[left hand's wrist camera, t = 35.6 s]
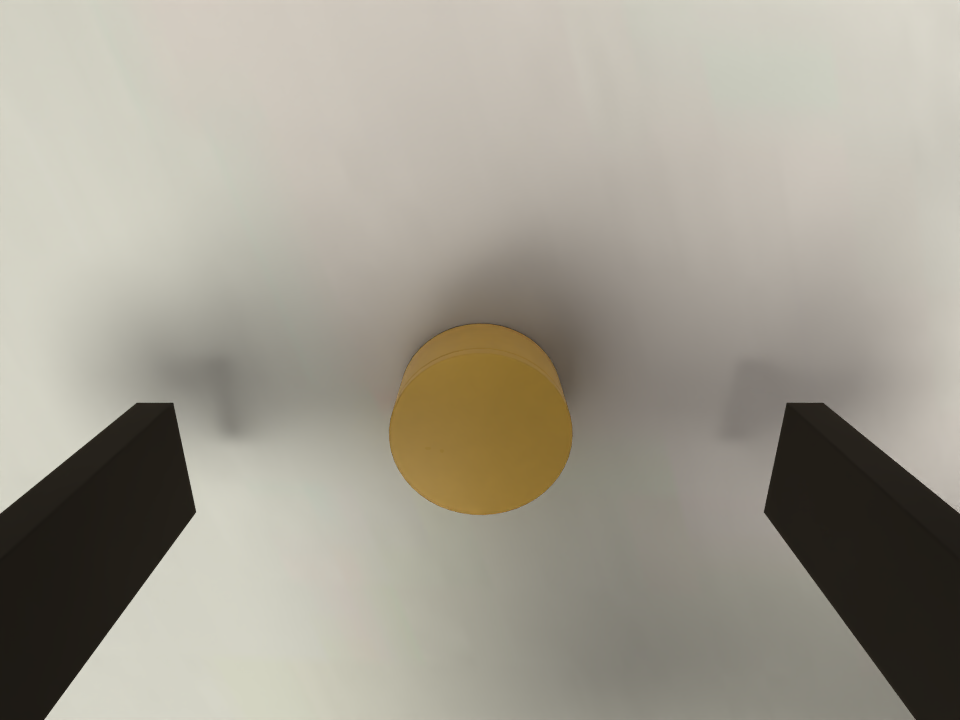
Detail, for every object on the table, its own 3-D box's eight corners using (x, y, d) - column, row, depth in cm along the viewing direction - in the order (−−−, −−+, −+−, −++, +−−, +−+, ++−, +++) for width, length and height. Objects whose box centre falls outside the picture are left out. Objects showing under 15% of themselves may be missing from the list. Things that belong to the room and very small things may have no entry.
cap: (572, 331, 15) (586, 362, 13) (548, 475, 16) (557, 522, 14) (404, 314, 15) (393, 344, 13) (396, 461, 16) (384, 507, 14)
